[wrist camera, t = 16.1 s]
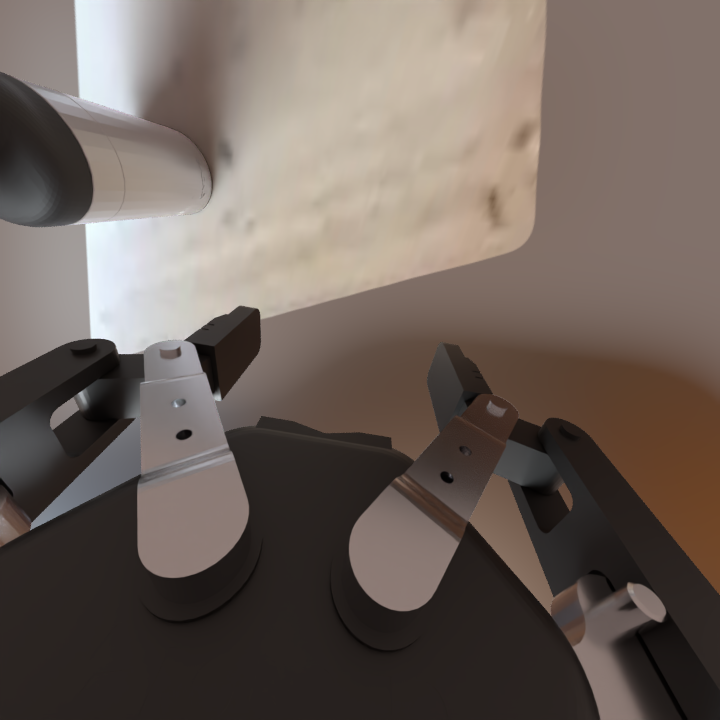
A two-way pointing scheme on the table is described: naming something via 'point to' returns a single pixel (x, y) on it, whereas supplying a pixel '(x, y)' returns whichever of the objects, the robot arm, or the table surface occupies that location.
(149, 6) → the table surface
